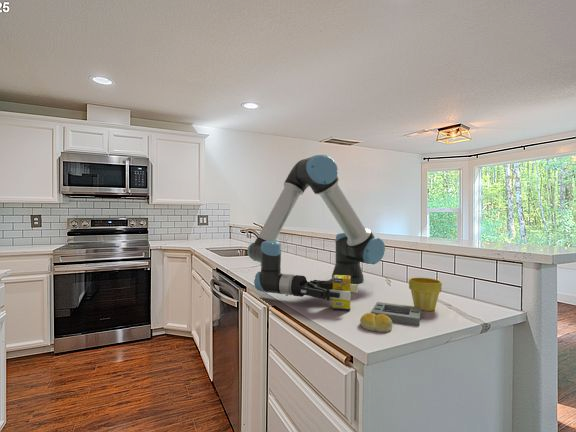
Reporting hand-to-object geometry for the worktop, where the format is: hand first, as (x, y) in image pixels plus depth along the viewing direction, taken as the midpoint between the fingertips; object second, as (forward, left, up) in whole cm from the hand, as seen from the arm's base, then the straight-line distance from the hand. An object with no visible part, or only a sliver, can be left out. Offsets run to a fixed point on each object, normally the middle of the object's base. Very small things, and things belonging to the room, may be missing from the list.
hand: (354, 292), depth 106 cm
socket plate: (0, +14, -6) cm, 15 cm away
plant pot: (-13, +22, -6) cm, 26 cm away
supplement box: (0, -4, -6) cm, 8 cm away
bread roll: (+13, +10, -6) cm, 17 cm away
